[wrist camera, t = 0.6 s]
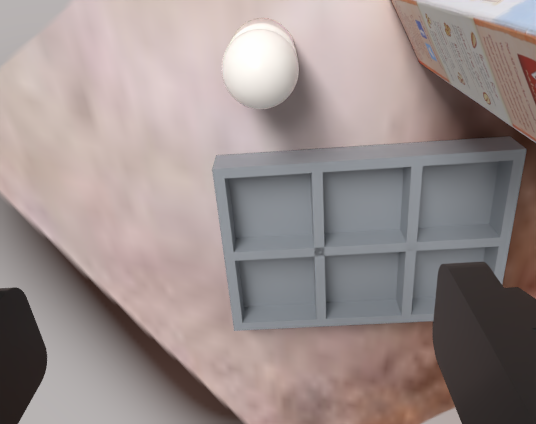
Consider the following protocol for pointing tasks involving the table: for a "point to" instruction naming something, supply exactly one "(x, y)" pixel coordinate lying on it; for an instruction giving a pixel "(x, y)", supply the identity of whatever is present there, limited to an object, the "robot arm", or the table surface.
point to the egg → (260, 64)
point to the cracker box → (480, 51)
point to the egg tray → (360, 227)
